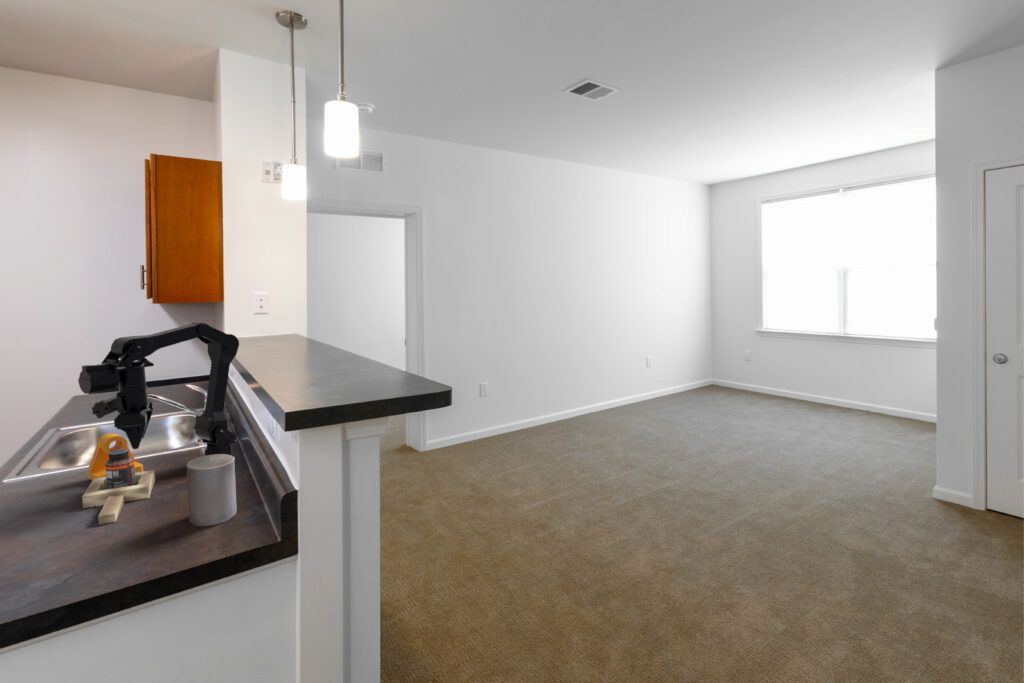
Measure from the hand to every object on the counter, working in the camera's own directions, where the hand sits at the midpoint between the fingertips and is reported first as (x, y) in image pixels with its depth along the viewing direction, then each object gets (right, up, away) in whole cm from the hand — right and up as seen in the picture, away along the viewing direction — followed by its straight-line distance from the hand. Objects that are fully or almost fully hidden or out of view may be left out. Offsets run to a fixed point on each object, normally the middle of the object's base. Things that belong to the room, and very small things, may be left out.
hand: (138, 443), depth 132 cm
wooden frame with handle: (0, -13, -8) cm, 15 cm away
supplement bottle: (-3, -13, -2) cm, 13 cm away
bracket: (-12, -11, +8) cm, 19 cm away
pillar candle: (+29, -15, -14) cm, 35 cm away
